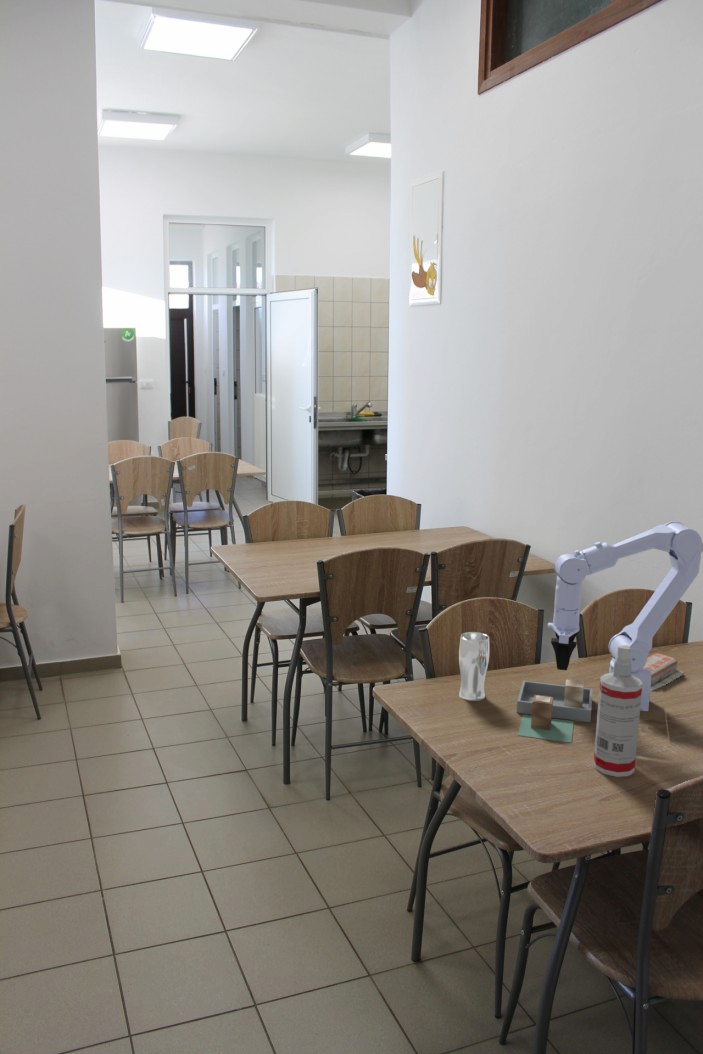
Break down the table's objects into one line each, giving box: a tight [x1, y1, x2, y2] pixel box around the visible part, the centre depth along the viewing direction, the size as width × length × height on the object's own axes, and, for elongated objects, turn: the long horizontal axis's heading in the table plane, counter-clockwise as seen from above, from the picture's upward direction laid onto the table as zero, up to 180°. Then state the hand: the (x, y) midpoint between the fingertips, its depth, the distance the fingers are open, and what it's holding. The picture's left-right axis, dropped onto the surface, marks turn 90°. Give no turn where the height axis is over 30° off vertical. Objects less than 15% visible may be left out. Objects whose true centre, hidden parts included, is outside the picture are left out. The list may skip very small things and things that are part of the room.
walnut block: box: [531, 695, 553, 730], centre depth 191 cm, size 4×4×6 cm
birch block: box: [564, 679, 585, 708], centre depth 201 cm, size 4×4×6 cm
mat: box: [517, 714, 575, 744], centre depth 190 cm, size 11×11×1 cm
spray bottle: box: [593, 645, 642, 778], centre depth 172 cm, size 8×8×25 cm
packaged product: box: [643, 652, 685, 692], centre depth 222 cm, size 18×5×10 cm
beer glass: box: [458, 631, 490, 702], centre depth 206 cm, size 7×7×15 cm
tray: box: [516, 680, 594, 723], centre depth 202 cm, size 16×13×3 cm
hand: (563, 663), depth 204 cm, fingers open, 7 cm apart
